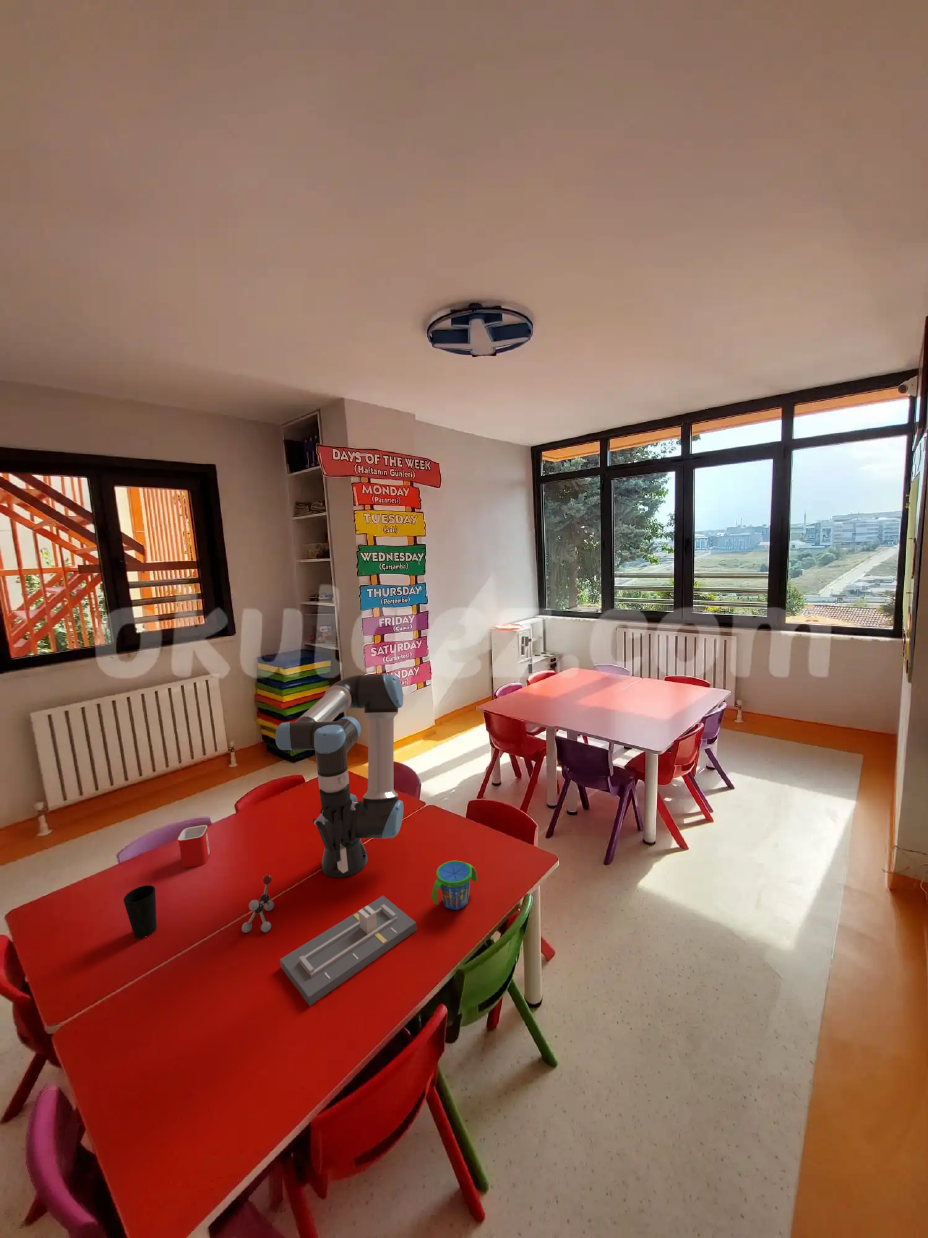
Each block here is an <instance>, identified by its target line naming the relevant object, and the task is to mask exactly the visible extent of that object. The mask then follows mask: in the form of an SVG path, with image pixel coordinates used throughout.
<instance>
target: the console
mask: <svg viewBox="0 0 928 1238" xmlns="http://www.w3.org/2000/svg"><path fill="white" fill-rule="evenodd" d="M368 906H369V907H370V908H372V909H373V910H374V911H375V912H376V920H377V929H375V930H374V931H372V932H371V933H369V934H367V933H365V932H364V931H363V930H362V929H361V928H360V922H359V910H357V911H356V912H354V913H353V914H351V915H349V916H348V917H346V918H345V919H343V920H342V921H340V922H339V923H337V924H335V925H333V926H331V927H330V928H328V929H327V930H325V931H323V932H322V933H320V934H319V935H317V936H316V937H314V938H312V939H311V940H309V941H307V942H306V943H304V944H303V945H300V946H299V947H298V948H296V949H294V950H293V951H291V952H289V953H287V954H286V955H285V956H283V957H282V958H280V959H279V962H280V969H282V971H283V972H284V974H285V975H286V976H287V978H288V979H289V980H290V982H291V983H292V984H293V986H294V987H295V988H296V990H297V991H298V992H299V994H300V995H301V997H302V998H303V999H304V1000H305V1002H306V1003H307V1004H308V1005H309V1007H311V1006H312V1005H314V1004H316V1003H317V1002H318V1001H319V1000H320V999H322V998H323V997H325V996H326V995H328V994H329V993H330V992H332V991H333V990H334V989H336V988H337V987H339V986H340V985H342V984H343V983H344V982H346V981H348V980H349V979H350V978H352V977H354V975H355V974H357V973H358V972H360V971H362V970H363V969H364V968H365V967H367V966H368V965H370V964H371V963H372V962H374V961H376V960H377V959H379V957H381V956H382V955H384V954H386V952H388V951H389V950H391V949H392V948H394V947H395V946H396V945H397V944H399V943H401V942H402V941H404V940H405V939H406V938H407V937H409V936H410V935H412V934H413V933H415V932H416V931H417V930H418V929H417V922H416V921H415V920H414V919H413V918H411V917H410V916H409V915H408V914H406V913H405V912H404V911H402V909H400V908H399V907H397V905H395V904H394V903H393V902H392V901H390V900H389V899H388V898H387V897H385V896H384V895H381V896H380V897H378V898H377V899H375V900H374V901H372V902H371V903H369V904H368Z"/></svg>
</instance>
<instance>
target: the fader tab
mask: <svg viewBox="0 0 928 1238" xmlns="http://www.w3.org/2000/svg"><path fill="white" fill-rule="evenodd" d="M368 905H369V904H368ZM368 905H366V906H364V907H362V908H361V909H359V910H358V911H359V922H360V928H361V929H362V930H363V931H364V932H365V933H367V934H369V933H371V932H372V931H374V930H375V929H377V920H376V912H375V911H374V910H373V909H372V908H370V907H369V906H368Z"/></svg>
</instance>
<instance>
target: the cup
mask: <svg viewBox="0 0 928 1238" xmlns="http://www.w3.org/2000/svg"><path fill="white" fill-rule="evenodd" d="M156 897H157V896H156V887H155V886H154V885H151V884H147V885H145V884H144V885H142V886H138V887H135V888H134V889H132V890H130V891H129V892H128V893H126V894H125V895H124V898H123V904H124V906H125V910H126V914H127V917H128V920H129V923H130V926H131V930H132V933H133V937H134V938H135V939H136V938H143V937H145V936H148V935H150V934H151V935H153V934H154V933H155V932H156V931H157V929H156V928H158V926H157V925H158V924H157V923H158V922H157V899H156ZM155 930H156V931H155ZM154 931H155V932H154ZM153 932H154V933H153ZM152 933H153V934H152ZM151 935H150V936H151ZM148 937H149V936H148ZM143 939H144V938H143Z"/></svg>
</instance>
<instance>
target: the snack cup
mask: <svg viewBox="0 0 928 1238" xmlns="http://www.w3.org/2000/svg"><path fill="white" fill-rule="evenodd" d="M471 880H472V881H473V882H475V883H476V882H477V880H478V874H477V871H476V868H475V867H474V866H473V865H472V864H470V863H467V862H464V861H460V860H450V861H447V862H444V863H442V864H441V865H439V866H438V867H437V870H436V880H435V882H434V884H433V887H432V891H431V899H432V902H433V903H434V904H435V905H437V906H438V905H439V902H438V900H439V899H438V891H439V889H440V894H441V899H442V901H443V902H442V903H443V905H444V907H445V908H446V909H450V910H453V911H455V910H456V911H458V910H460V909H463V908H464V907H466V905H467V904H468V903H469V897H470V889H471Z"/></svg>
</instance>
